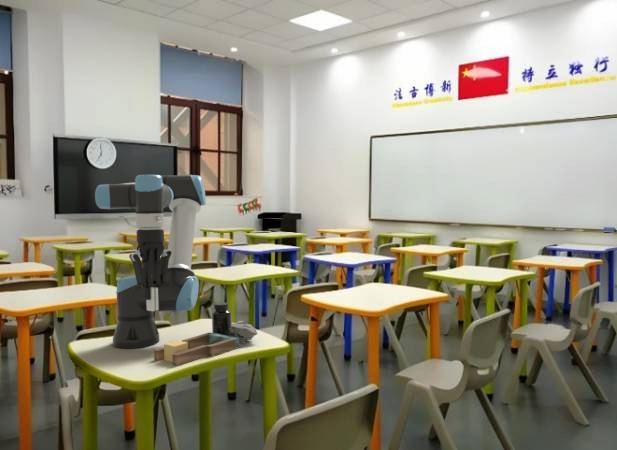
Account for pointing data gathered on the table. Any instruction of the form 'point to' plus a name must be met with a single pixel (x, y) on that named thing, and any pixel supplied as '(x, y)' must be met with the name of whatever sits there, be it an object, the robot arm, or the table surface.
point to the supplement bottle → (221, 319)
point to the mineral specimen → (242, 331)
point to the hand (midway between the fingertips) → (152, 310)
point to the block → (174, 349)
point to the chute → (201, 348)
